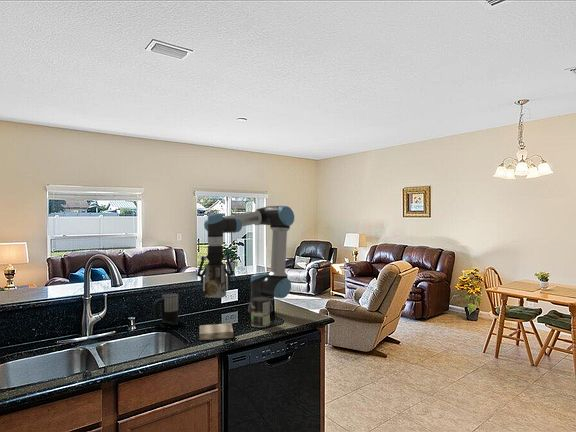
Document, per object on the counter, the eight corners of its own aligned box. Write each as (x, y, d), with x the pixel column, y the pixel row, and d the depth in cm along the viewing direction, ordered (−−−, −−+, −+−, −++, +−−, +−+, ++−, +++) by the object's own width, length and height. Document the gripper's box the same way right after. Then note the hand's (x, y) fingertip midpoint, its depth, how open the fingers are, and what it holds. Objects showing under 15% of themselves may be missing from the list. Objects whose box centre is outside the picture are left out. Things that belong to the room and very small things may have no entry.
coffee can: (253, 328, 193) (253, 301, 193) (249, 322, 203) (249, 297, 203) (272, 326, 196) (272, 299, 196) (267, 321, 206) (267, 295, 206)
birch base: (231, 328, 192) (231, 323, 192) (233, 337, 178) (233, 331, 178) (199, 331, 188) (199, 325, 188) (199, 340, 175) (199, 333, 175)
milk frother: (171, 318, 213) (171, 292, 213) (190, 322, 205) (190, 295, 205) (150, 324, 201) (150, 297, 201) (170, 329, 193) (170, 300, 193)
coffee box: (226, 295, 185) (226, 263, 185) (221, 298, 179) (221, 265, 179) (209, 294, 187) (209, 263, 187) (204, 297, 181) (204, 264, 181)
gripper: (191, 246, 177) (191, 292, 177) (239, 245, 182) (239, 290, 182) (191, 245, 184) (191, 289, 184) (237, 244, 189) (238, 287, 189)
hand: (215, 289), depth 183 cm, fingers closed on coffee box, 10 cm apart
